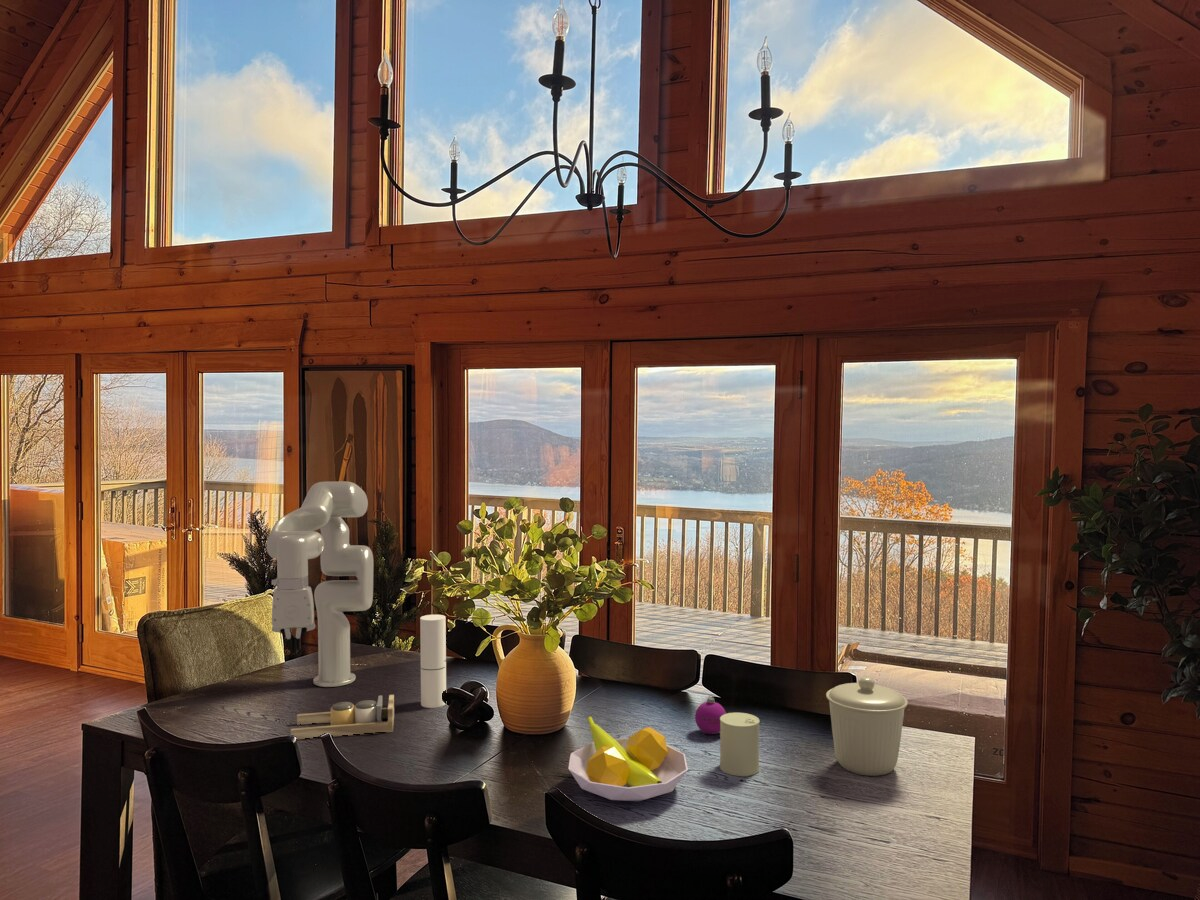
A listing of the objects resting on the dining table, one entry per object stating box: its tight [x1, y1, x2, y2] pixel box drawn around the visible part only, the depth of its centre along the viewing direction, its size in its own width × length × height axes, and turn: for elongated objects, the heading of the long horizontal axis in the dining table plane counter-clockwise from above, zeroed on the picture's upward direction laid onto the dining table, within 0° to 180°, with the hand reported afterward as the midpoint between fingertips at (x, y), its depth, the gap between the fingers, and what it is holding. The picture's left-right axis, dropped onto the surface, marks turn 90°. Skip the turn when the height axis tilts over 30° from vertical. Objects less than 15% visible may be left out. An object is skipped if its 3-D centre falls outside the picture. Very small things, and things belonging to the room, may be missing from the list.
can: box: [719, 712, 761, 777], centre depth 191 cm, size 9×9×12 cm
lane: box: [290, 694, 395, 740], centre depth 217 cm, size 12×25×6 cm, turn 102°
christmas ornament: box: [694, 694, 727, 735], centre depth 213 cm, size 8×8×10 cm
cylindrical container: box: [419, 614, 447, 709], centre depth 235 cm, size 7×7×25 cm
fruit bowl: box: [568, 716, 689, 802], centre depth 182 cm, size 28×27×11 cm
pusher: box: [376, 695, 384, 722], centre depth 219 cm, size 9×1×6 cm, turn 12°
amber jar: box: [330, 701, 355, 726], centre depth 217 cm, size 6×6×6 cm
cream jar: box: [354, 699, 378, 724], centre depth 218 cm, size 6×6×6 cm
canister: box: [825, 676, 909, 777], centre depth 191 cm, size 18×18×21 cm
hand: (294, 652), depth 214 cm, fingers closed
